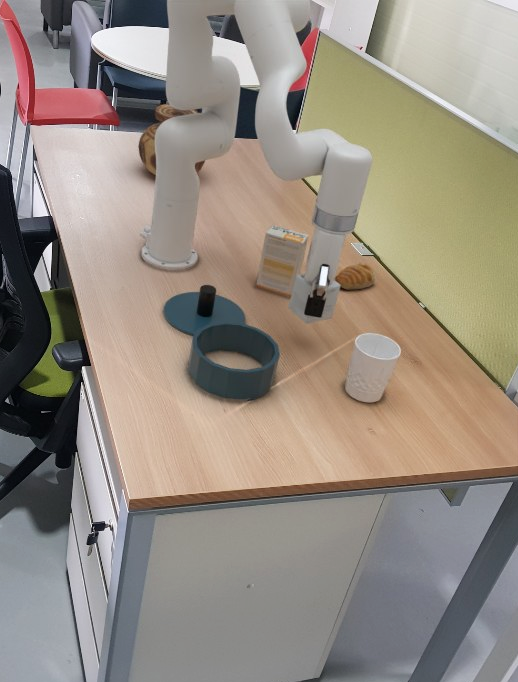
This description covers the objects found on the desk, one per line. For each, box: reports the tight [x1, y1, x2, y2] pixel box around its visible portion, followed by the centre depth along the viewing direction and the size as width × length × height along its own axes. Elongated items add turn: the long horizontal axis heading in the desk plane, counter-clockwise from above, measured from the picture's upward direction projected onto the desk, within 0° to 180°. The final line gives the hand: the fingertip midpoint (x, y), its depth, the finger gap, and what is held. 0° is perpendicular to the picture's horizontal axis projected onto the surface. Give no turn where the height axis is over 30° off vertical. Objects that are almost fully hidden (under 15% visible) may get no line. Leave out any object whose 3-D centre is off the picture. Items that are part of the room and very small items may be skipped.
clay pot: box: [138, 103, 206, 176], centre depth 203 cm, size 19×19×20 cm
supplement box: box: [255, 224, 309, 297], centre depth 158 cm, size 8×5×13 cm, turn 65°
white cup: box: [344, 332, 402, 403], centre depth 131 cm, size 8×8×10 cm
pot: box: [188, 322, 281, 402], centre depth 132 cm, size 15×15×6 cm
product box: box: [287, 273, 341, 325], centre depth 138 cm, size 6×6×7 cm
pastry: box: [334, 262, 376, 291], centre depth 166 cm, size 9×7×4 cm
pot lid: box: [163, 284, 246, 337], centre depth 146 cm, size 16×16×7 cm
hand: (313, 303), depth 139 cm, fingers closed on product box, 8 cm apart
